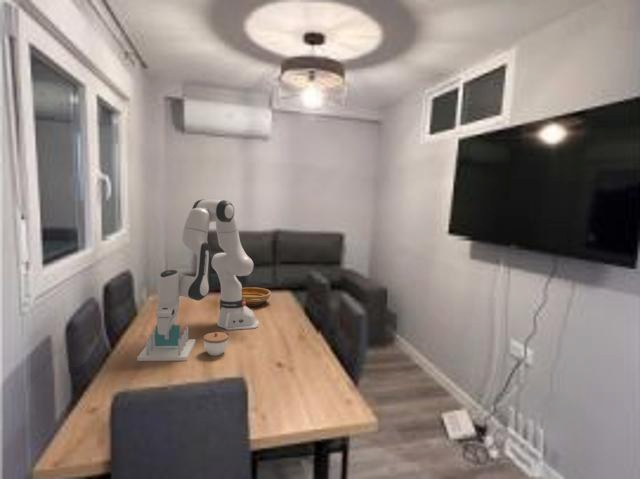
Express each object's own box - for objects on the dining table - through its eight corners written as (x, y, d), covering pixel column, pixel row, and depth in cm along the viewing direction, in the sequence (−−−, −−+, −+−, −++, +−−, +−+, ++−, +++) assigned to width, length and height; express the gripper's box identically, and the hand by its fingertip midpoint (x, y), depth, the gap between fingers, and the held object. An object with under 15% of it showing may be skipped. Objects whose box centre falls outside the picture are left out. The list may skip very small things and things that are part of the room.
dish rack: (195, 342, 184) (195, 325, 183) (186, 360, 165) (186, 341, 164) (151, 342, 181) (151, 324, 180) (137, 360, 162) (137, 341, 161)
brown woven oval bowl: (231, 298, 263) (231, 286, 262) (266, 297, 270) (267, 285, 269) (235, 311, 235) (235, 298, 234) (274, 309, 242) (274, 297, 241)
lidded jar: (205, 359, 167) (206, 338, 166) (201, 349, 176) (201, 330, 175) (230, 355, 172) (231, 335, 171) (224, 346, 181) (225, 327, 180)
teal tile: (180, 344, 175) (180, 324, 173) (179, 346, 172) (179, 326, 171) (157, 344, 173) (157, 324, 172) (155, 346, 171) (155, 326, 170)
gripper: (167, 300, 180) (166, 329, 182) (154, 314, 160) (154, 346, 162) (181, 300, 181) (180, 329, 183) (170, 314, 161) (169, 346, 163)
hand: (168, 337), depth 172 cm, fingers closed on teal tile, 2 cm apart
